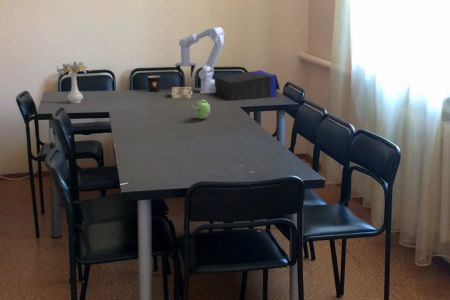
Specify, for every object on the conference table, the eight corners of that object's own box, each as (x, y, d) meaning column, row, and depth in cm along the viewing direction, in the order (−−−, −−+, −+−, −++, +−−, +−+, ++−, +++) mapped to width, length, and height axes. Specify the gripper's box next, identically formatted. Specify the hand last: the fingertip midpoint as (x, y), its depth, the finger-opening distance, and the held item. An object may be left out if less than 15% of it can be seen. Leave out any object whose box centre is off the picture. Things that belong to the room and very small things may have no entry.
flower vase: (58, 101, 358) (55, 61, 352) (88, 99, 364) (85, 60, 357) (59, 105, 347) (56, 64, 340) (90, 103, 352) (88, 62, 345)
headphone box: (280, 97, 371) (280, 74, 367) (229, 101, 359) (229, 78, 355) (263, 90, 393) (264, 69, 389) (215, 94, 381) (215, 72, 377)
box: (191, 94, 380) (191, 87, 378) (190, 98, 368) (190, 90, 367) (172, 94, 379) (172, 87, 378) (171, 98, 368) (171, 90, 367)
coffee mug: (146, 92, 389) (145, 77, 387) (151, 89, 397) (150, 75, 395) (162, 92, 386) (161, 78, 383) (166, 90, 394) (166, 76, 391)
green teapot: (187, 118, 313) (187, 98, 310) (206, 116, 317) (206, 96, 314) (195, 122, 302) (195, 102, 299) (215, 120, 307) (214, 100, 304)
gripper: (174, 57, 384) (174, 77, 387) (195, 57, 384) (196, 77, 388) (174, 56, 390) (175, 76, 394) (196, 56, 391) (196, 76, 394)
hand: (185, 76), depth 391 cm, fingers open, 7 cm apart
